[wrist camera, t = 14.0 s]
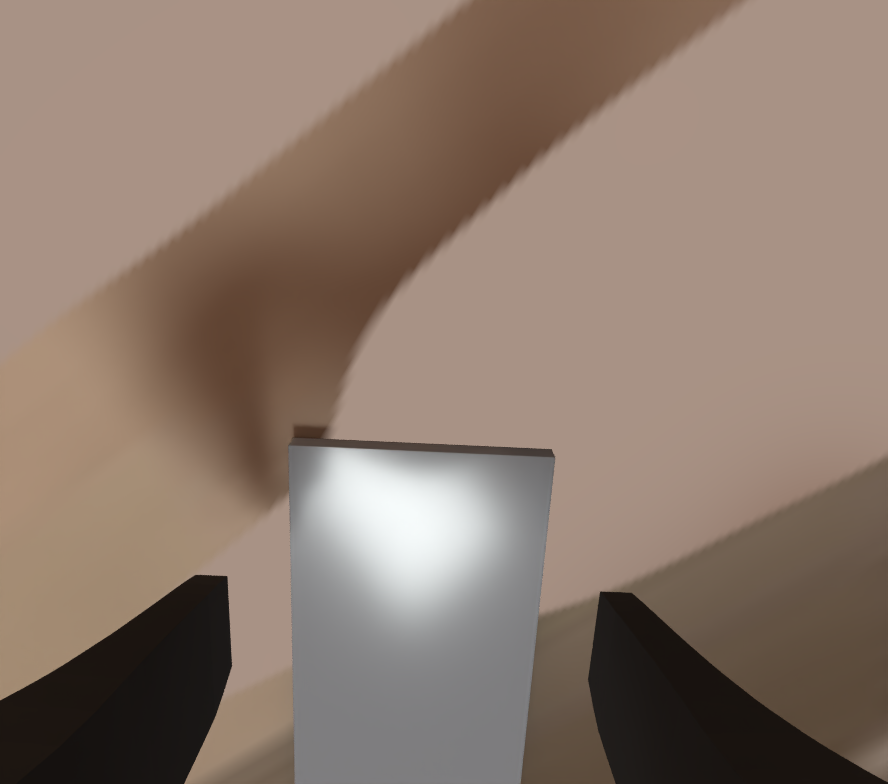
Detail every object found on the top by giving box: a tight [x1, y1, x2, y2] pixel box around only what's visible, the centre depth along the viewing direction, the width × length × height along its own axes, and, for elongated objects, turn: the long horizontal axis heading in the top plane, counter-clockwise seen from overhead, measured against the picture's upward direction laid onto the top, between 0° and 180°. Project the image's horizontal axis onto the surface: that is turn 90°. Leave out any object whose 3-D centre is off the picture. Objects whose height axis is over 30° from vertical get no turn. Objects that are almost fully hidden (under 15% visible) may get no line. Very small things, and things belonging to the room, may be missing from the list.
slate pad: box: [288, 438, 555, 784], centre depth 16 cm, size 6×11×1 cm, turn 177°
